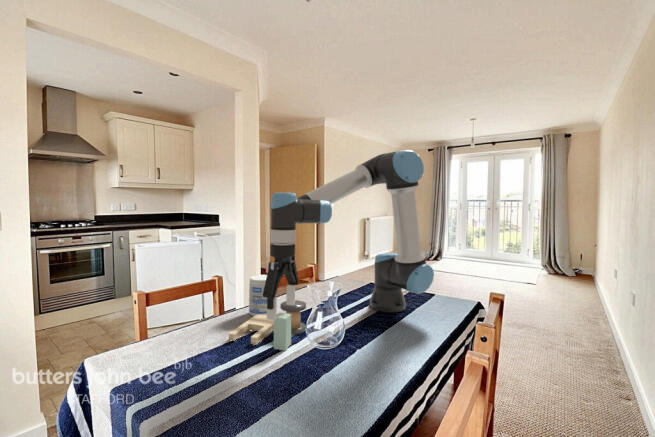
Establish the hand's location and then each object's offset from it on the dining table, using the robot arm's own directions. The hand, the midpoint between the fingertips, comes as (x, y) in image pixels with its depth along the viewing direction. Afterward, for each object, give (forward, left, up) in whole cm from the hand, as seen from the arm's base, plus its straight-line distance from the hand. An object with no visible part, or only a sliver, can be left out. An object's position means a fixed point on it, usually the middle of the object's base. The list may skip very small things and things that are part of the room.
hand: (281, 311), depth 97 cm
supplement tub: (-23, -20, -12) cm, 33 cm away
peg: (0, 0, -11) cm, 11 cm away
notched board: (-7, -13, -11) cm, 19 cm away
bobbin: (-13, -2, -11) cm, 17 cm away
